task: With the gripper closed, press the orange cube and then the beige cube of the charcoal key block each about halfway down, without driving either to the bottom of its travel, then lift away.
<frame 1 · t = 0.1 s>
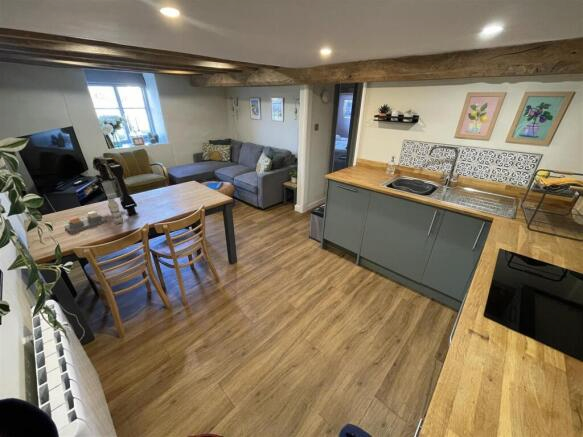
hand: (110, 190, 198), 15 cm above the table, tool pointing down, fingers open, 9 cm apart
beige cube: (92, 214, 175), point 7 cm above the table, slide at 0.0 cm
orange cube: (74, 220, 167), point 7 cm above the table, slide at 0.0 cm
plastic bottle: (119, 223, 179), on the table
key block: (87, 225, 174), on the table
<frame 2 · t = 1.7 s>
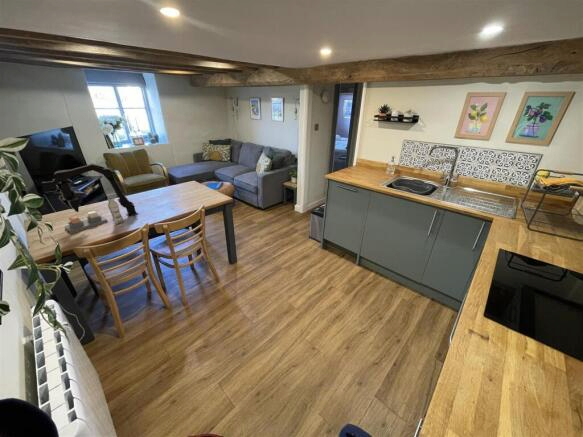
hand: (74, 210, 167), 13 cm above the table, tool pointing down, fingers open, 9 cm apart
nothing on the table moved.
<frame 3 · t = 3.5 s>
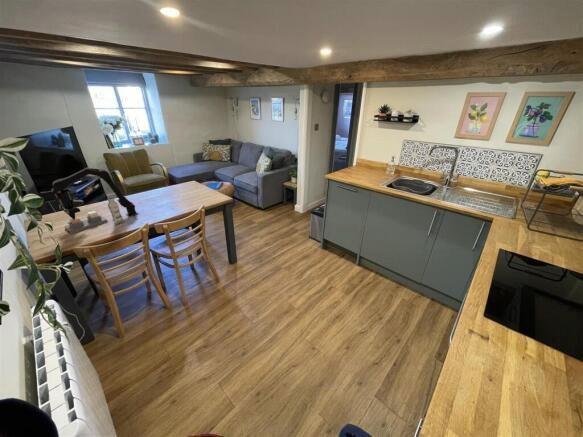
hand: (74, 218, 167), 7 cm above the table, tool pointing down, fingers closed, pressing on orange cube
orange cube: (75, 221, 168), point 6 cm above the table, slide at 0.9 cm, touching gripper
everything else where it was.
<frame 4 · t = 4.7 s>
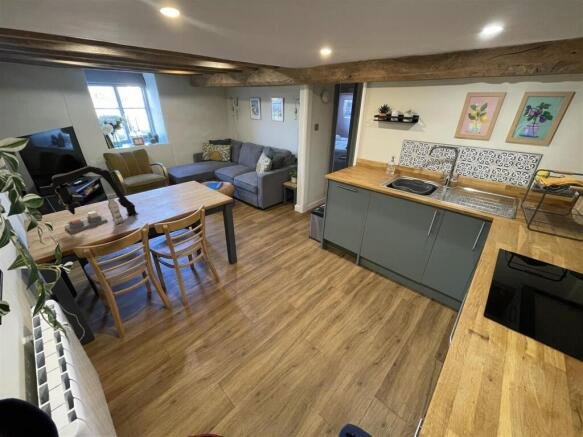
hand: (73, 214, 166), 11 cm above the table, tool pointing down, fingers closed
orange cube: (75, 221, 168), point 5 cm above the table, slide at 1.3 cm
everything else where it was.
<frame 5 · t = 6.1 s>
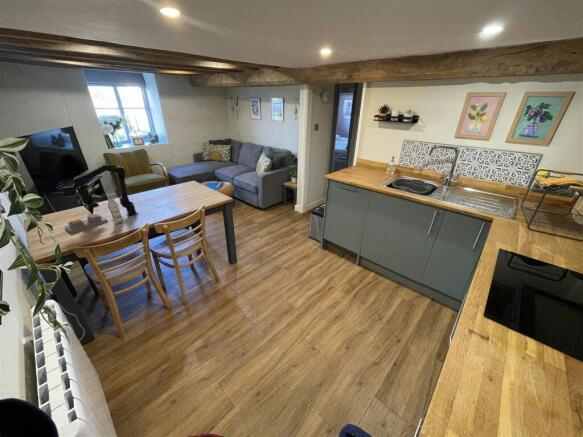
hand: (92, 213, 175), 7 cm above the table, tool pointing down, fingers closed, pressing on beige cube
beige cube: (93, 215, 176), point 6 cm above the table, slide at 0.9 cm, touching gripper
everything else where it was.
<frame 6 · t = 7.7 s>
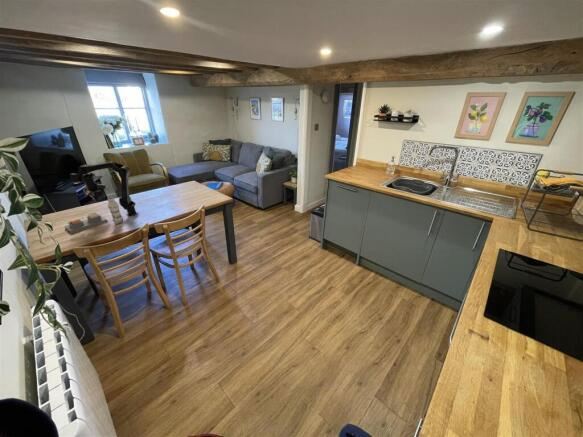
hand: (97, 201, 182), 13 cm above the table, tool pointing down, fingers closed
beige cube: (93, 216, 176), point 5 cm above the table, slide at 1.3 cm
everything else where it was.
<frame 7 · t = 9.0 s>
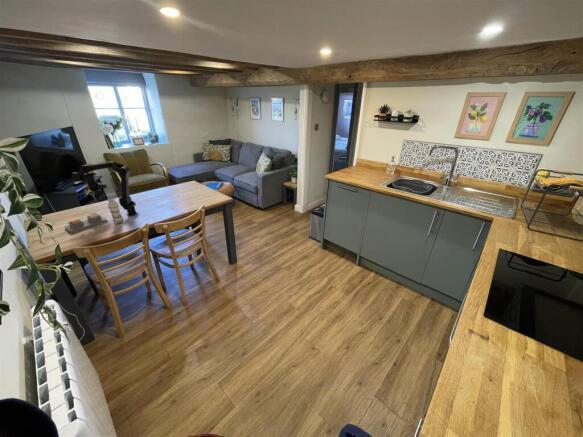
hand: (98, 200, 183), 13 cm above the table, tool pointing down, fingers closed
nothing on the table moved.
at the end: orange cube slide at 1.3 cm; beige cube slide at 1.3 cm; plastic bottle moved 0.2 cm from its start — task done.
